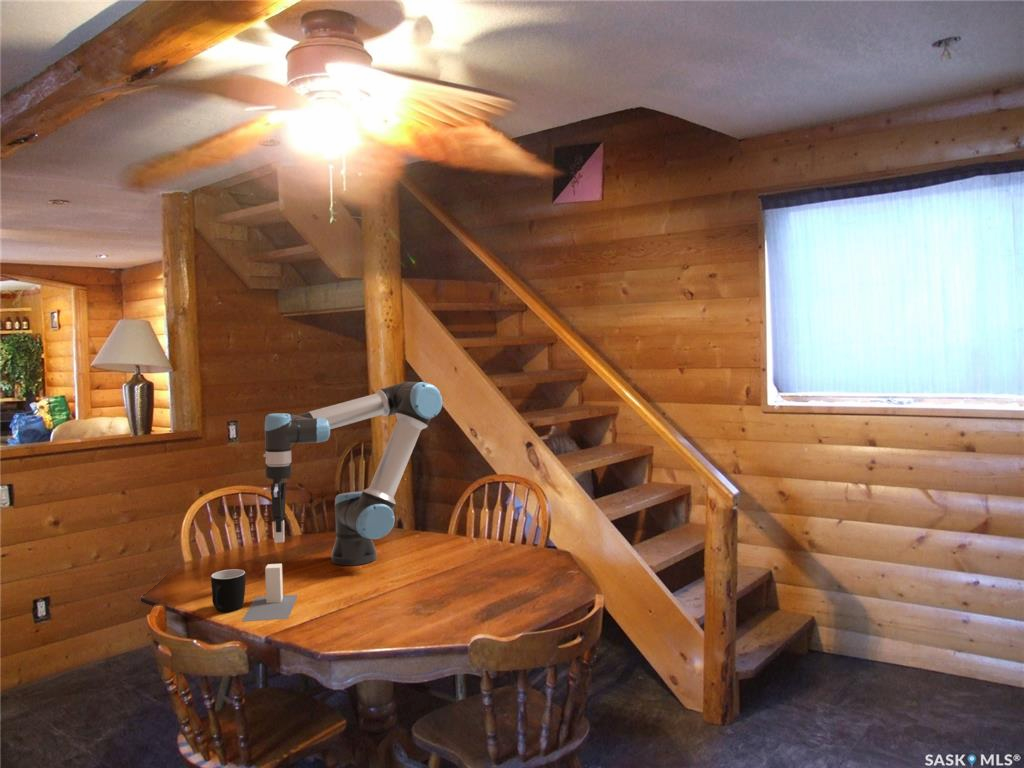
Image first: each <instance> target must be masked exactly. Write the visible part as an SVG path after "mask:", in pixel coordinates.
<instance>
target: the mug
mask: <svg viewBox="0 0 1024 768" xmlns="http://www.w3.org/2000/svg"><path fill="white" fill-rule="evenodd" d="M210 581H211V582H210V584H211V594H212V595H211V596H212V597H211V598H212V599H211V601H212V602H211V603H212V604H213V606H214V607H215V610H216V611H217V612H218V613H232V612H233V613H234V612H237V611H239V610H241V609H242V608H243V606H244V601H245V594H246V571H245V570H243V569H239V568H238V569H237V568H235V569H224V570H220V571H216V572H214V573H212V574H211V575H210Z"/></svg>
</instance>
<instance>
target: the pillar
mask: <svg viewBox="0 0 1024 768" xmlns="http://www.w3.org/2000/svg"><path fill="white" fill-rule="evenodd" d="M264 572H265V573H264V576H265V597H266V603H276V602H281V601H282V599H283V595H284V591H283V589H284V587H283V585H284V583H283V563H270V564H269V563H268V564H267V565H266V566H265V569H264Z"/></svg>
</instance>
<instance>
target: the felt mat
mask: <svg viewBox="0 0 1024 768" xmlns="http://www.w3.org/2000/svg"><path fill="white" fill-rule="evenodd" d="M298 596H299V594H289V595H287V594H285V595H284V594H283V599H282V601H281V602H276V603H266V596H256V597H254V600H253V601H252V603H251V604H250V606H249V608H248V610H247V612H246V613H245V615H244V616H243V619H242V620H241V622H243V623H244V622H257V621H272V620H273V621H274V620H288V619H289V618H290V615H291V614H292V610H293V609H294V606H295V603H296V601H297V599H298Z"/></svg>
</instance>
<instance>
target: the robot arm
mask: <svg viewBox="0 0 1024 768" xmlns="http://www.w3.org/2000/svg"><path fill="white" fill-rule="evenodd" d="M442 408H443V396H442V394H441V392H440V390H439V389H438V388H437V387H436V386H435V385H433V384H432V383H427V382H425V381H421V382H419V381H402V382H399V383H396V384H393V385H390V386H386V387H385V388H384V387H383V388H380V389H377V390H376V391H375V393H373V394H369V395H365V396H363V397H359V398H358V397H357V398H354V399H350V400H348V401H347V400H346V401H344V402H340V403H336V404H333V405H330V406H326V407H321V408H317V409H315V410H310V411H308V412H304V413H299V414H290V413H284V412H282V413H278V412H277V413H268V414H267V415H266V416H265V418H264V419H265V420H264V442H265V443H264V446H265V447H264V449H265V453H264V454H263V458H265V465H266V466H265V470H264V471H265V478H266V479H268V480H272V481H273V482H272V484H270V491H271V492H270V495H271V505H272V506H271V507H272V519H271V520H270V521H271V522H273V527H274V528H273V530H274V533H273V534H274V543H276V544H278V543H285V520H287V519H288V517H287V516H286V490H287V489H286V488H287V482H285V479H289V478H291V476H292V465H291V463H292V445H297V444H315V443H317V444H318V443H323V442H327V441H328V440H329V439H330V436H331V430H332V429H336V428H339V427H340V428H341V427H343V426H346V425H350V424H354V423H358V422H360V421H364V420H367V419H372V418H375V417H379V416H383V417H388V416H393V415H394V416H395V418H396V422H395V425H394V427H393V430H392V432H391V435H390V438H389V439H388V441H387V444H386V447H385V449H384V450H383V451H384V452H383V454H382V457H381V459H380V461H379V464H378V465H377V468H376V470H375V473H374V476H373V478H372V480H371V481H370V482H371V483H370V485H369V487H367V488H364V490H362V491H353V492H352V491H351V492H344V493H339V494H337V495H336V496H335V499H334V500H335V501H334V509H335V510H334V514H335V515H334V517H335V518H334V519H335V541H334V544H333V548H332V551H331V554H330V556H331V557H330V558H331V560H330V561H331V562H332V563H333V564H335V565H339V566H357V565H358V566H359V565H360V566H361V565H365V564H369V563H372V562H374V561H376V560H377V558H378V557H377V549H376V546H375V544H374V541H373V540H379V539H382V538H384V537H386V536H387V535H388V534H390V532H391V531H392V529H393V528H394V525H395V521H396V518H395V517H396V516H395V514H394V513H395V512H394V510H395V507H396V504H397V503H396V499H395V494H396V492H397V490H398V488H399V485H400V483H401V480H402V477H403V475H404V473H405V470H406V468H407V466H408V463H409V461H410V458H411V455H412V453H413V452H414V451H413V450H414V448H415V446H416V444H417V441H418V438H420V437H419V436H420V433H421V431H422V430H424V429H427V428H428V427H429V424H430V421H431V419H433V418H435V417H436V416H438V414H439V413H440V412H441V410H442Z"/></svg>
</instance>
